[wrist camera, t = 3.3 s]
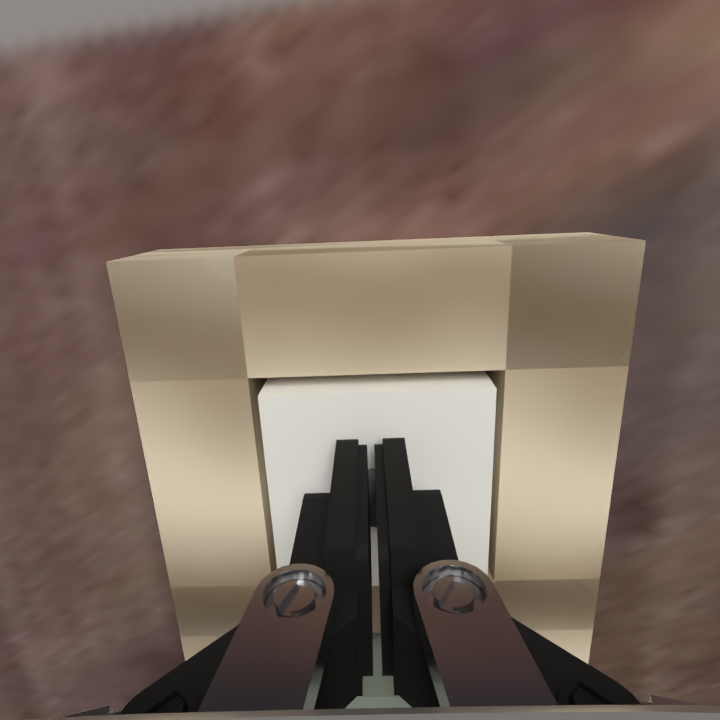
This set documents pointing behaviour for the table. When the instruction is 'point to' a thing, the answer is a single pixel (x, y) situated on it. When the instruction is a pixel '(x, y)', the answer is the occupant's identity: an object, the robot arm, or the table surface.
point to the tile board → (384, 356)
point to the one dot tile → (370, 425)
